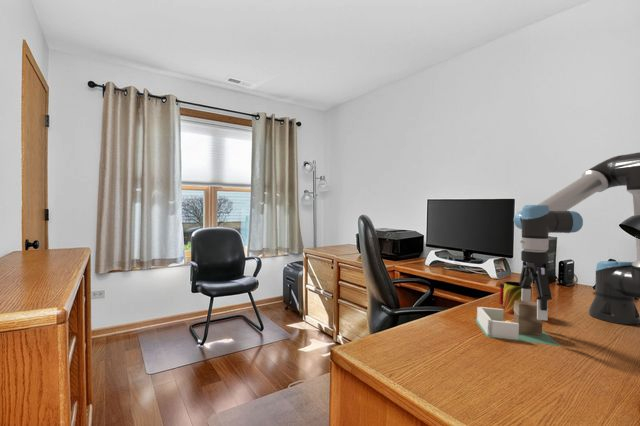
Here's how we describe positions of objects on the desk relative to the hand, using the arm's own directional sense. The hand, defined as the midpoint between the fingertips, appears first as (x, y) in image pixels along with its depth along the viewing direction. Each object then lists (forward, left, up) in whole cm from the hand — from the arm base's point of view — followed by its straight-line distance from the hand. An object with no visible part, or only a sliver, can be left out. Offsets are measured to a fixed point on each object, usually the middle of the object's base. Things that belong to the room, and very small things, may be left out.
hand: (533, 313), depth 108 cm
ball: (+8, +1, -5) cm, 9 cm away
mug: (-1, -26, -7) cm, 27 cm away
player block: (+2, 0, -7) cm, 7 cm away
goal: (+11, 0, -7) cm, 13 cm away
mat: (+6, 0, -7) cm, 9 cm away
